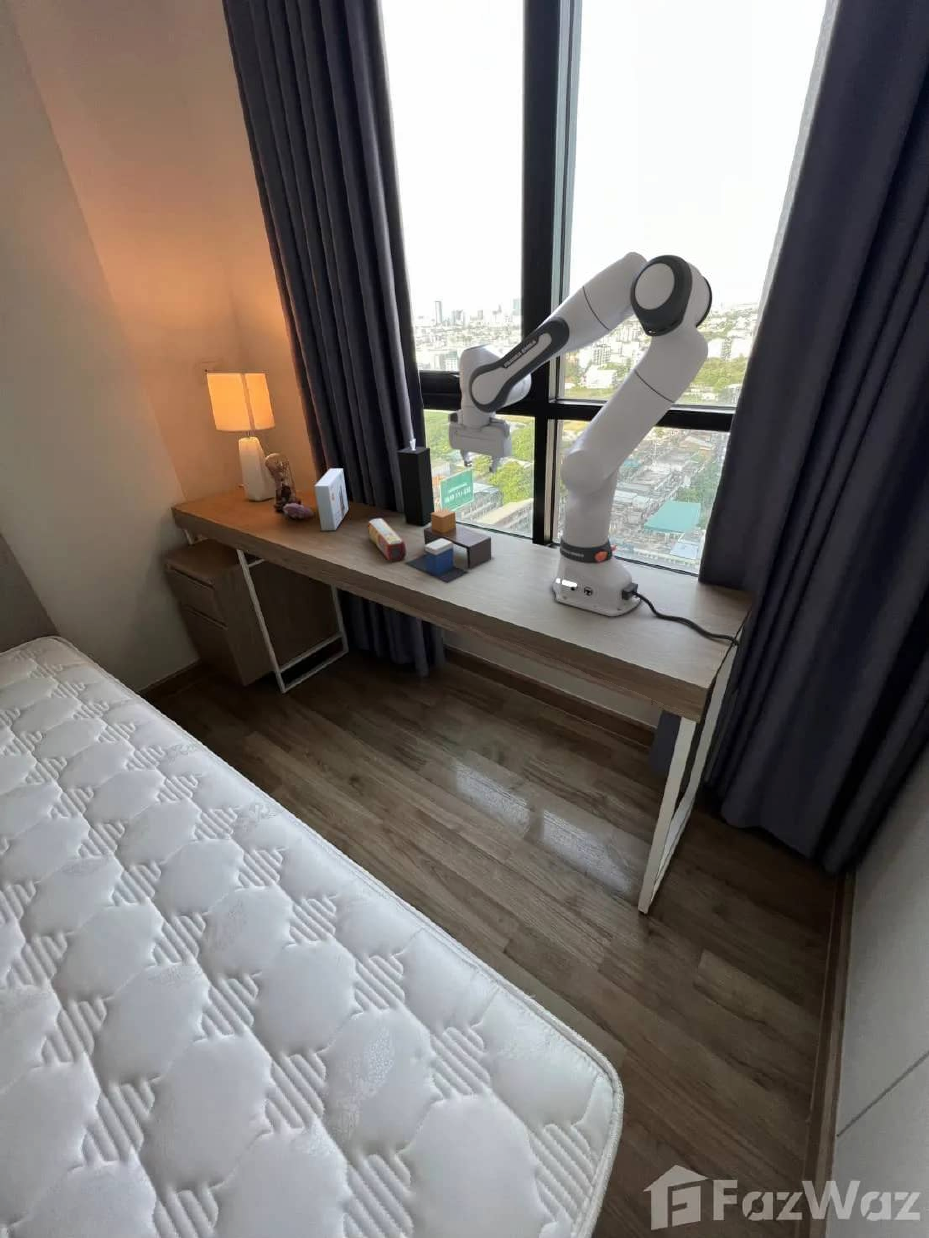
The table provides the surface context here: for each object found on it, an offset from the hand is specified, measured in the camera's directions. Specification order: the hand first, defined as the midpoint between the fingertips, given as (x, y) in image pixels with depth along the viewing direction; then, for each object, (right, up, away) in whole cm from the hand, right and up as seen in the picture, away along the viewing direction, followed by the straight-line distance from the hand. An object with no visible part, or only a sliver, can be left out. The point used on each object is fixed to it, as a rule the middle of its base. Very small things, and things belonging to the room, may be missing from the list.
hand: (480, 469), depth 137 cm
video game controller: (-66, -4, +48) cm, 82 cm away
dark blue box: (-11, -27, +7) cm, 30 cm away
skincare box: (-51, -5, +44) cm, 68 cm away
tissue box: (-20, -6, +40) cm, 45 cm away
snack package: (-29, -19, +21) cm, 40 cm away
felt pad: (-13, -26, +8) cm, 30 cm away
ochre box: (-11, -14, +15) cm, 23 cm away
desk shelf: (-7, -21, +15) cm, 27 cm away
